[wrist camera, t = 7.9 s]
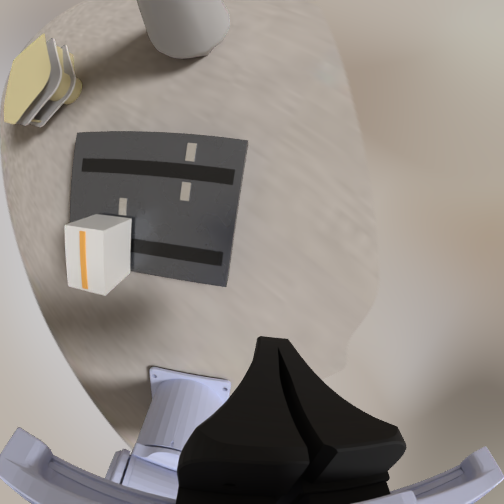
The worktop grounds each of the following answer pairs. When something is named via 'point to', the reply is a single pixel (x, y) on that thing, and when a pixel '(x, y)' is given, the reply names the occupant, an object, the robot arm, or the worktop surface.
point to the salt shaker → (185, 25)
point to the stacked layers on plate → (40, 83)
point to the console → (164, 197)
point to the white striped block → (97, 252)
